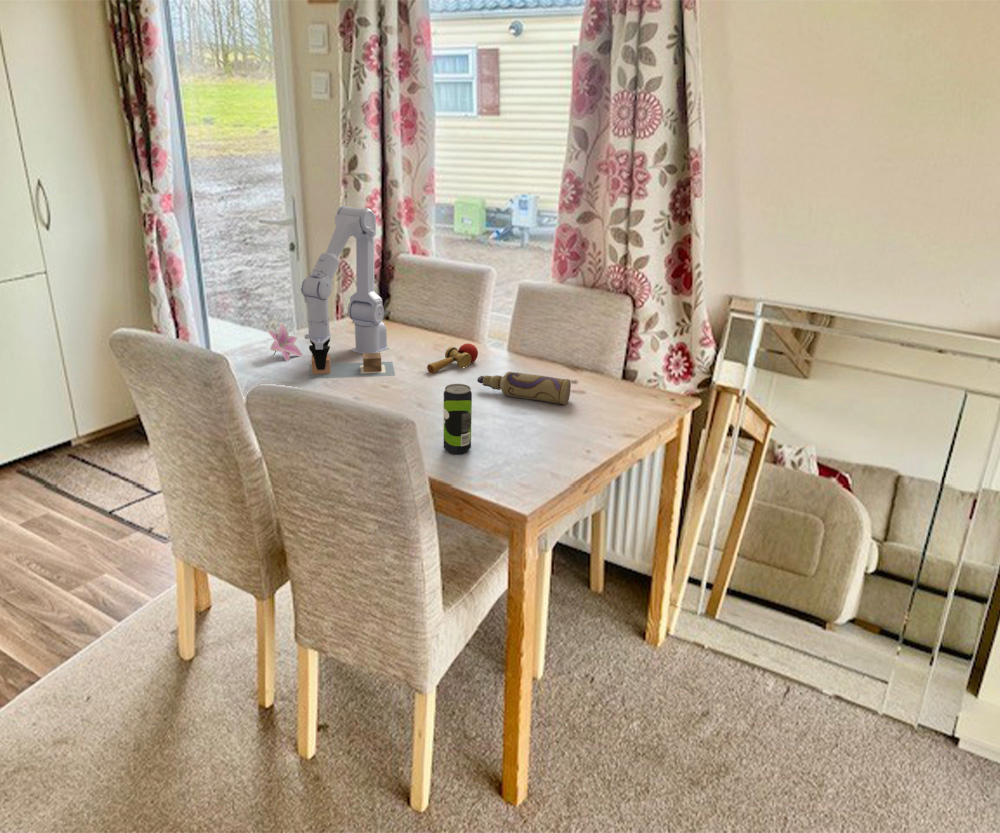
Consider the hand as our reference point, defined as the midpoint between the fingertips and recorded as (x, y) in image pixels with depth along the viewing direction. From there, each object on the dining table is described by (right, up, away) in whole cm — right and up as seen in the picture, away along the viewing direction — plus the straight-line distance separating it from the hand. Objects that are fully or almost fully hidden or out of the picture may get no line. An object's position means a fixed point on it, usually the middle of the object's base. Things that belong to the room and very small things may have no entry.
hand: (321, 366), depth 222 cm
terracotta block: (0, -1, +1) cm, 1 cm away
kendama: (+37, 0, +8) cm, 38 cm away
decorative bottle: (+58, -9, -12) cm, 60 cm away
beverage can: (+41, -22, -44) cm, 64 cm away
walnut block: (+14, -1, +3) cm, 14 cm away
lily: (-13, +3, +11) cm, 18 cm away
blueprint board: (+8, -1, +2) cm, 9 cm away
